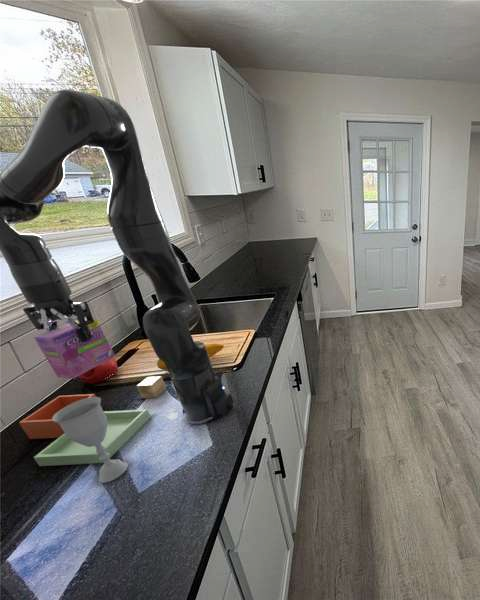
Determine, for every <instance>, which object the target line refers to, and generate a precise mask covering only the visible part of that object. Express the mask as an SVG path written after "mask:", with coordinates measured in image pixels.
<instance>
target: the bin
mask: <svg viewBox="0 0 480 600" xmlns="http://www.w3.org/2000/svg"><path fill="white" fill-rule="evenodd" d="M90 397H97V396H96V394H95V393H87V394H85V393H84V394H69V395H58V396H56V397H55V398H54V399H52V400H51V401H49V402H47V403H46V404H44V405H43V406H42V407H40V408H39V409H37V410H36V411H34V412H33V413H31V414H30V415H28V416H27V417H25V418H23V419H22V420H21V421H19V422H18V423H19V424H18V425H20V427H21V428H22V429H23V431H24V432H25V434H26V435H27V437H28V438H29V439H30V440H39V439H41V440H42V439H58V438H59V437H60V436H61V435H63V434H64V433H65V432H64V431H63V429H62V428H61V426H60V424H59V423H57V422H55V421H52V417H53V416H54V414H56V413H57V412H58V411H59V410H61V409H62V408H64V407H66V406H68V405H70V404H72V403H74V402H76V401H79V400H82V399H85V398H90ZM100 406H101V408H102V410H103V411H104V409H103V407H102V405H101V404H100Z"/></svg>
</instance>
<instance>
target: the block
mask: <svg viewBox="0 0 480 600" xmlns="http://www.w3.org/2000/svg"><path fill="white" fill-rule="evenodd" d="M136 389H137V391H138V393H139V395H140V398H141V399H149V398H150V399H153V398H158V396H160V395H161V394H162V393H163V392H164V391H165V390H166V389H167V386H166V383H165V381H164V378H163V376H162V375H157V376H147V377H145V378H144V379H143V380H141V382H140V383H138V384H136Z"/></svg>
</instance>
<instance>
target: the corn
mask: <svg viewBox="0 0 480 600" xmlns="http://www.w3.org/2000/svg"><path fill="white" fill-rule="evenodd" d="M204 345H205V347H206V349H207V352H208V356H209V358H211V357H213V356H214V355H217V353H219V352H222V350H223V349H224V344H221V343H209V344H208V343H207V344H204ZM156 365H157V368H158V369H160V370H163V371H167V368H166V366H165V364H164V362H163V361H162V360H160V359H159V358H158V360H157V362H156Z"/></svg>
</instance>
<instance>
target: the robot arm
mask: <svg viewBox="0 0 480 600" xmlns="http://www.w3.org/2000/svg"><path fill="white" fill-rule="evenodd" d="M85 147H87V148H93V149H94V148H97V149H101V150H102V152H103V155H104V157H105V161H106V162H107V166H108V168H109V171H110V172H109V173H110V178H111V185H110V192H109V197H108V202H107V209H106V210H107V211H106V212H107V214H106V215H107V221H108V225H109V228H110V230H111V231H112V234H113V236H114V238H115V241H116V243H117V246H118V247H119V249H120V251H121V252H122V253H123V255H124V256H125V257H126V259H128V260H129V261H130V262H131V263H132V264H133V265H134V266H136V267H137V269H139V270H140V271H141V272H142V273H143V274H144V275H145V276H146V277H147V278H148V279H149V281H150V283H151V284H152V287H153V289H154V291H155V295H156V297H157V300H158V304H156V305H154V306H153V307H151V308H150V309H149V310H147V311H146V312H145V313H144V315H143V318H142V326H143V331H144V333H145V335H146V337H147V339H148V341H149V343H150V345H151V347H152V348H153V351H154V353H155V355H156V357H157V358H158V360H159V359H160V360H162V361H163V362H164V364H165V366H166V368H167V370H166V371H167V373H168V376H169V378H170V381H171V383H172V385H173V388H174V391H175V393H176V396H177V397H178V400H179V402H180V405H181V407H182V415H184V416H185V418H186V421H187V423H188V424H191V425H202V424H205V423H206V424H207V423H209V422H210V421H214V420H218V419H219V418H220V416H221V415H226V413H228V412H230V411H231V410H233V409H234V404H233V403H234V399H233V396H232V393H231V392H226V391H225V386H223V383H222V379H221V377H220V376H216V374H215V371H214V368H213V364H212V361H211V357H209V356H208V352H207V349H206V347H205V345H206V344H204V342H202V341H195V340H194V338H193V336H192V334H191V330H193V328H195V326H197V324H198V323H199V321H200V319H201V311H200V308H199V305H198V303H197V301H196V298H195V296H194V294H193V292H192V290H191V289H190V286H189V285H188V283H187V280H186V279H185V277H184V274H183V271H182V269H181V266H180V264H179V260H178V258H177V255H176V253H175V249H174V248H173V245H172V242H171V239H170V235H169V233H168V229H167V226H166V224H165V221H164V218H163V216H162V214H161V212H160V209H159V206H158V203H157V201H156V197H155V195H154V192H153V189H152V186H151V182H150V179H149V177H148V173H147V169H146V165H145V162H144V159H143V154H142V150H141V146H140V142H139V138H138V134H137V131H136V128H135V125H134V122H133V120H132V118H131V116H130V115H129V113H128V112H127V110H126V109H125V107H123V106H122V105H121V104H120V103H119V102H117V100H116V101H115V100H114V99H112V98H109V97H105V96H101V95H96V94H93V93H87V92H83V91H78V90H73V89H60V90H59V89H58V90H57V91H54V92H53V93H52V94H51V95H50V96H49V97H48V98H47V100H46V101H45V102H44V104H43V107H42V109H41V111H40V113H39V115H38V117H37V119H36V121H35V123H34V125H33V127H32V128H31V131H30V133H29V135H28V137H27V139H26V142H25V144H24V145H23V147H22V149H21V150H20V152H18V154H17V155H16V156H15V157H14V158H13V159H12V161H10V162H9V164H7V166H6V167H4V168H3V170H2V171H0V254H1V255H2V257H3V259H4V261H5V262H6V264H7V266H8V268H9V270H10V274H11V276H12V278H13V279H14V281H15V283H16V285H17V286H18V289H19V290H20V292H21V294H22V295H23V297H24V299H25V300H26V302H27V303H28V304H31V305H29V306H27V307H24V308H23V309H22V311H23V312H24V314H25V315H26V316H27V318H28V319H29V321H30V322H31V323H32V325H33V326H34V328H35V329H36V330H38V331H40V330H41V331H42V330H43V331H44V332H45V333H46V332H49V331H51V330H54V329H56V328H58V327H60V321H63V322H64V323H65V324H70V325H72V326H73V327H74V328H75V329H77V330H75V331H76V333H77V334H78V336H79V338H80V340H81V342H88V341H89V340H91V339H92V334H91V333H90V331H89V329H88V325H89V324H91V323H93V322H94V319H95V318H94V317H93V314H92V312H91V308H90V307H89V304H88V303H89V302H87V301H86V300H83V301H80V302H75V301H74V300H73V299H72V298H71V294H72V290H71V288H70V286H69V284H68V281H67V280H66V278H65V276H64V274H63V272H62V270H61V268H60V266H59V265H58V263H57V262H56V261H55V259H54V257H53V256H52V254H51V252H50V250H49V247H48V246H47V244H46V242H45V240H44V239H43V237H41V236H40V235H39V234H36V233H20V232H18V231H17V230H16V229H14V228H13V227H12V226H11V225H15V224H21V223H27V222H31V221H32V220H36V219H37V218H38V217H39V216H40V215H41V213H42V210H43V207H44V205H45V201H46V199H47V198H48V197H49V196H51V195H52V193H54V192H55V191H56V190H57V189H58V188H59V187H60V186H61V185H62V183H63V181H64V178H65V175H66V174H65V173H66V172H65V161H66V159H67V158H68V157H69V156H70V155H72V154H73V153H75V152H76V151H79V150H80V149H82V148H85ZM85 318H86V319H87V320H85ZM39 320H41V322H40V321H39ZM76 320H77V321H79V324H78V323H77V322H75V321H76Z"/></svg>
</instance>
